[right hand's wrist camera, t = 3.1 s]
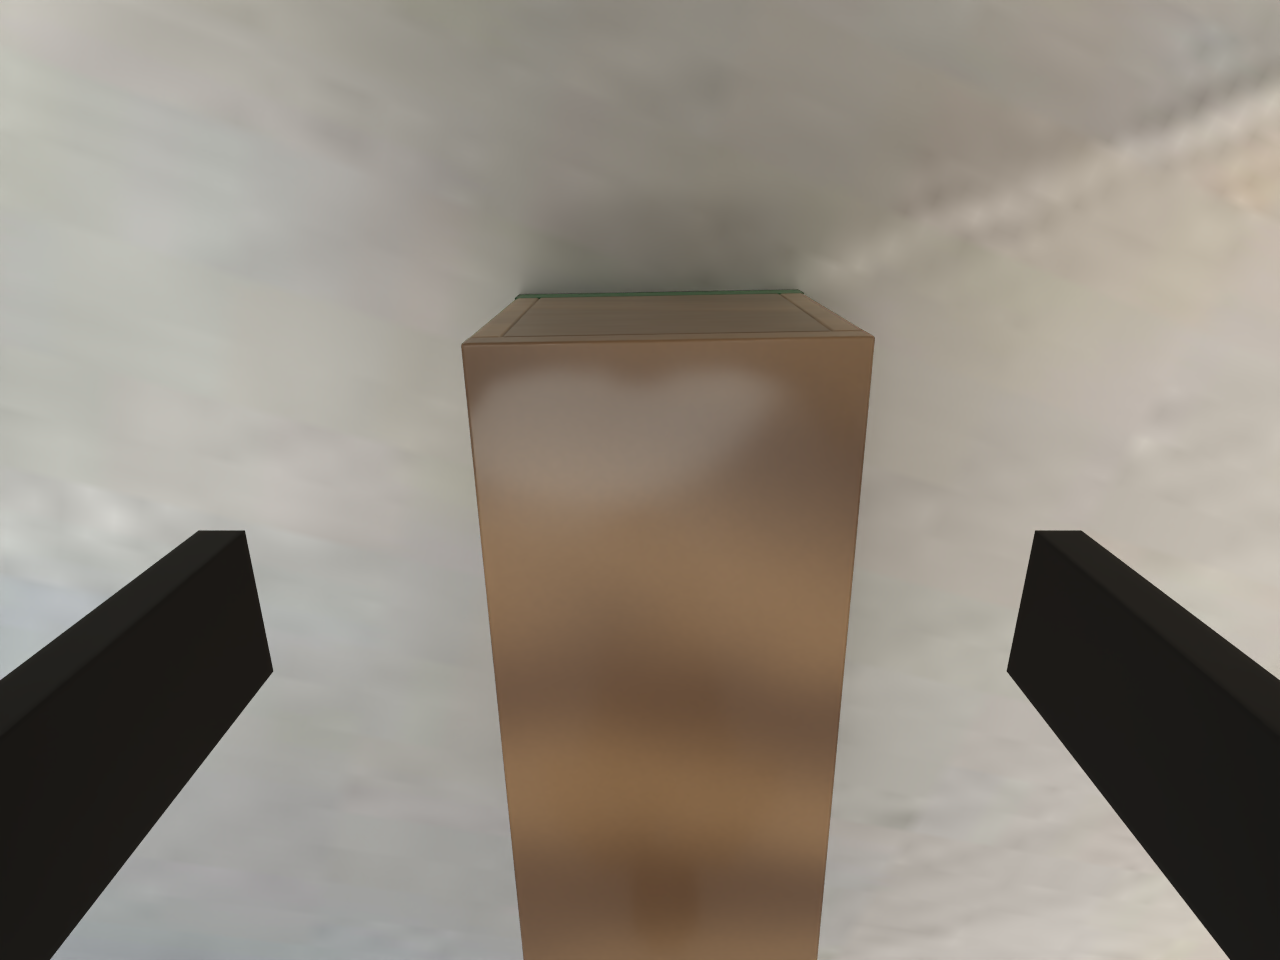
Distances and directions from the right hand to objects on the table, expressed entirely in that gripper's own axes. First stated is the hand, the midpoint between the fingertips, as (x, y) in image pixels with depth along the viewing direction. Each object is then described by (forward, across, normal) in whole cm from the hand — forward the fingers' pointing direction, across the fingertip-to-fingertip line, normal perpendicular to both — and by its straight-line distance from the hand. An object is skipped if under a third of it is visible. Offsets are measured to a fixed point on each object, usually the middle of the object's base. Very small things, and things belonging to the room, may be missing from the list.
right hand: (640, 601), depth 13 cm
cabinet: (+16, +1, -7) cm, 17 cm away
